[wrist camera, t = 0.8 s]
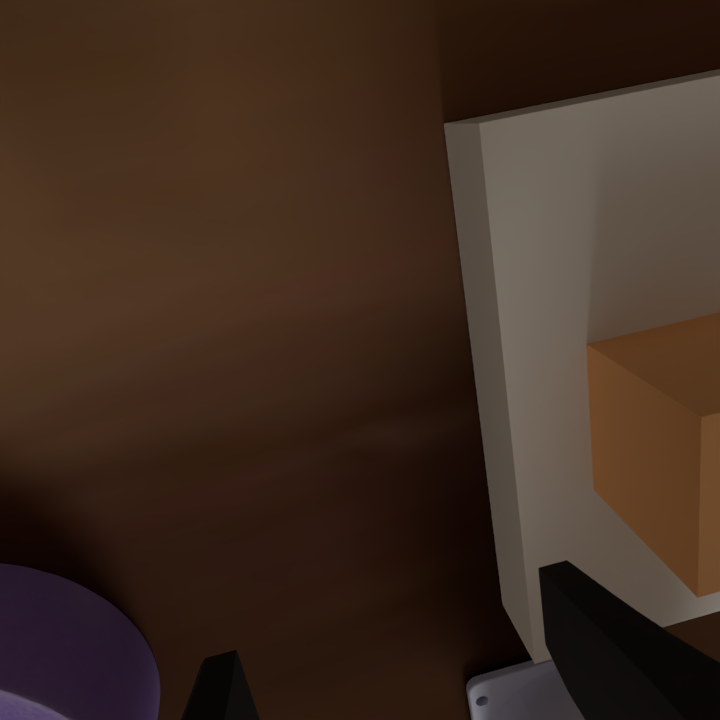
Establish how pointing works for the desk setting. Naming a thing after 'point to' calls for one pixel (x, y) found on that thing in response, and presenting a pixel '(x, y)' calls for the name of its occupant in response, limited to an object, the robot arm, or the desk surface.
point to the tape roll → (70, 653)
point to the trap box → (579, 311)
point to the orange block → (662, 441)
